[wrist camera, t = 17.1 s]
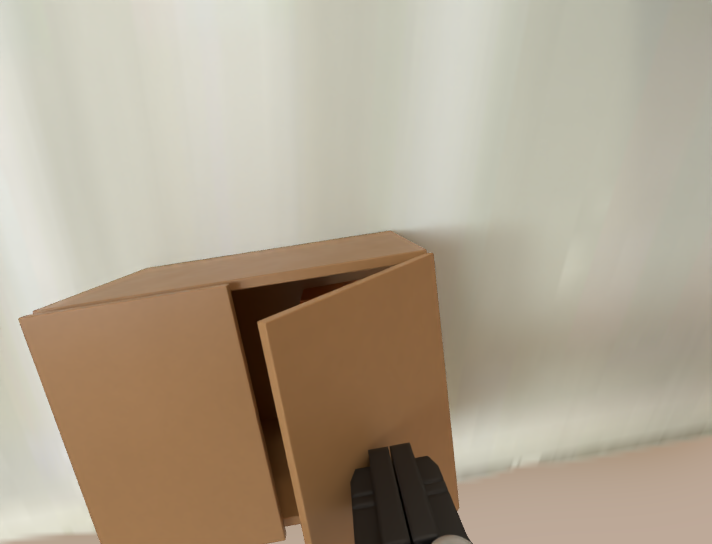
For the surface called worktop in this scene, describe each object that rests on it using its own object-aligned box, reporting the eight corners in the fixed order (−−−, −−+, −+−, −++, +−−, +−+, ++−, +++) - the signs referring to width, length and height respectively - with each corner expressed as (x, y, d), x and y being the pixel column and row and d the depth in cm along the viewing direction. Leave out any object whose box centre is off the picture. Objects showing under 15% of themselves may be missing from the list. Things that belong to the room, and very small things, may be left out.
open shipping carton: (390, 230, 25) (431, 251, 15) (411, 396, 28) (458, 509, 18) (145, 268, 24) (15, 317, 14) (192, 434, 27) (109, 574, 17)
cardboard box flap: (425, 252, 15) (434, 252, 15) (452, 504, 18) (459, 507, 18) (256, 321, 9) (264, 323, 9) (334, 680, 12) (342, 690, 12)
